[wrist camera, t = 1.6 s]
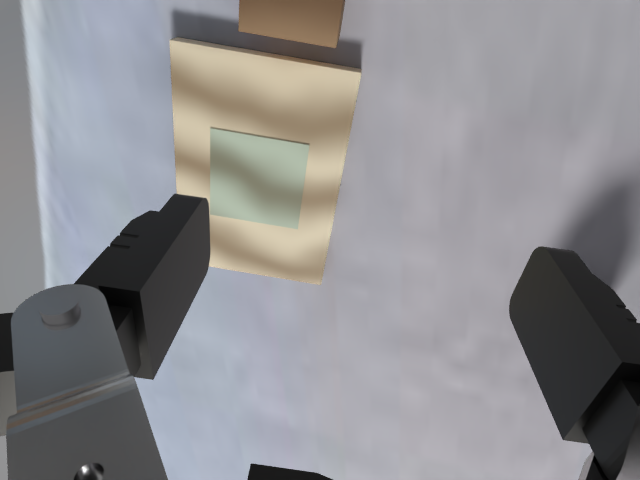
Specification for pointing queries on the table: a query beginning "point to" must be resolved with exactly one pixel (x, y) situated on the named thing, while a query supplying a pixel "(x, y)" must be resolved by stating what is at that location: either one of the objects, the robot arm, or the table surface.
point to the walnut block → (293, 20)
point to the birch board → (262, 152)
